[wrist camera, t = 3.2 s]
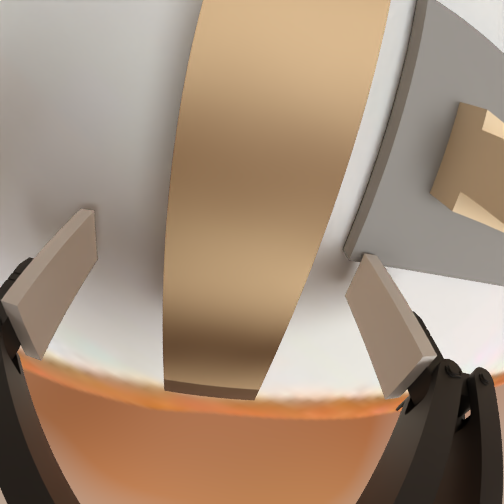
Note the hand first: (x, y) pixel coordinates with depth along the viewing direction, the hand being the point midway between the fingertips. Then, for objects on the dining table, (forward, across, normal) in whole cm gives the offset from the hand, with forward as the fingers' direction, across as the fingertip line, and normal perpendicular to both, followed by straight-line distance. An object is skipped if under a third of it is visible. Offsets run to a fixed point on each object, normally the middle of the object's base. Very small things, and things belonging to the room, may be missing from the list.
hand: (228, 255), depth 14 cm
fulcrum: (+1, +14, +8) cm, 16 cm away
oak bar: (+1, 0, +6) cm, 6 cm away
